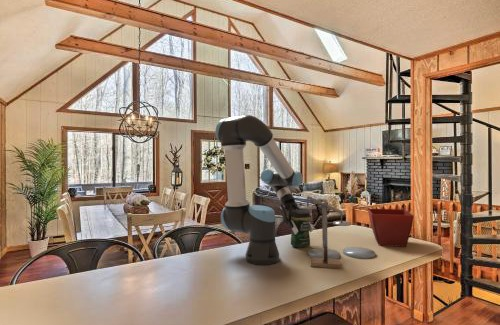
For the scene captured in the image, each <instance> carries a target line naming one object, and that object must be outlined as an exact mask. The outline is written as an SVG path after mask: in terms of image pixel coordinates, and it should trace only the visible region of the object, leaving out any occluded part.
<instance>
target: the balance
mask: <svg viewBox="0 0 500 325" xmlns="http://www.w3.org/2000/svg"><path fill="white" fill-rule="evenodd" d="M309 200H310V201H312V202H315V203H317V204H318V205H321V223H322V225H321V228H322V229H321V230H322V233H321V234H322V248H323V258H313V257H310V267H312V268H324V269H325V268H328V269H342V263H341V258H338V259H331V258H328V249H329V248H328V246H329V244H328V209H329V210H332V211H334V212H335V213H338V214H340V220H335V221H332V224H333V225H334V226H337V227H349V226H351V225H352V224H351V222H350V221H346V220H343V211H342V210H340V209H337V208H336V207H333V206H332V205H329V204H328V202H327V201H321V200H318V199H317V198H314V197H312V196H310V195H308V196H306V205H305V204H304V205H303V204H302V206H300V209H305V210H317V206H316V205H311V204H309Z"/></svg>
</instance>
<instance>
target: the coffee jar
mask: <svg viewBox="0 0 500 325" xmlns="http://www.w3.org/2000/svg"><path fill="white" fill-rule="evenodd" d="M310 216H311V213H310V211H309V209H305V210H292V212H291V221H292V220H293V222H294V224H295V226H296V227H297V229H298V232H297V234H294V232H293V230H292V229H291V233H290V234H291V235H290V245H291V246H292V247H295V248H306V247H310V245H311V238H310V231H309V220H310V219H311V218H310ZM310 221H311V220H310Z"/></svg>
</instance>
